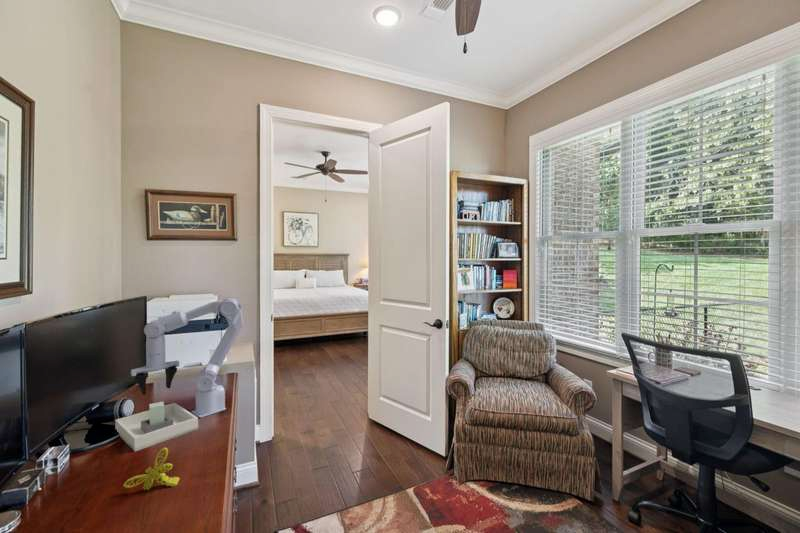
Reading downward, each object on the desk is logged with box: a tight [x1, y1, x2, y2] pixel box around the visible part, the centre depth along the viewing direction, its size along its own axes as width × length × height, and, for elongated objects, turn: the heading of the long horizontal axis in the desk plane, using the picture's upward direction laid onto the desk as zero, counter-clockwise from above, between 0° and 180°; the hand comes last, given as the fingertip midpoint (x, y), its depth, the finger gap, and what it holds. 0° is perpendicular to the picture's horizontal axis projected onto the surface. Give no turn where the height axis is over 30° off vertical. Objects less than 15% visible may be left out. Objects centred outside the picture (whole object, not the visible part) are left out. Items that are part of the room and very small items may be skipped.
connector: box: [148, 401, 165, 426], centre depth 120 cm, size 4×4×8 cm
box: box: [114, 402, 199, 452], centre depth 120 cm, size 18×20×4 cm
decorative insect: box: [123, 447, 180, 491], centre depth 91 cm, size 12×3×10 cm
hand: (156, 390), depth 128 cm, fingers open, 7 cm apart
